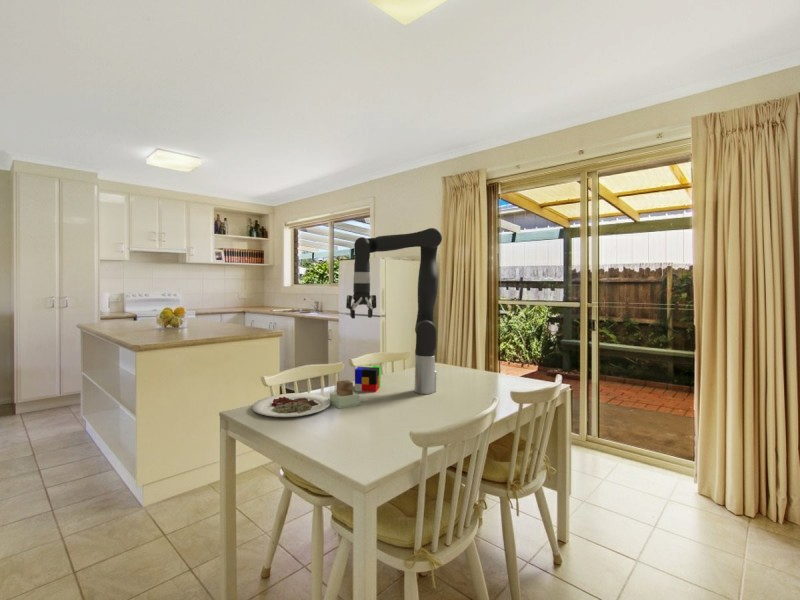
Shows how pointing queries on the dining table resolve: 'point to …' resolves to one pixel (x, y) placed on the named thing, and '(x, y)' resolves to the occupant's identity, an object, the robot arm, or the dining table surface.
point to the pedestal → (344, 400)
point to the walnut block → (344, 388)
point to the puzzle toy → (367, 378)
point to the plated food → (291, 405)
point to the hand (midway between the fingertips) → (361, 318)
